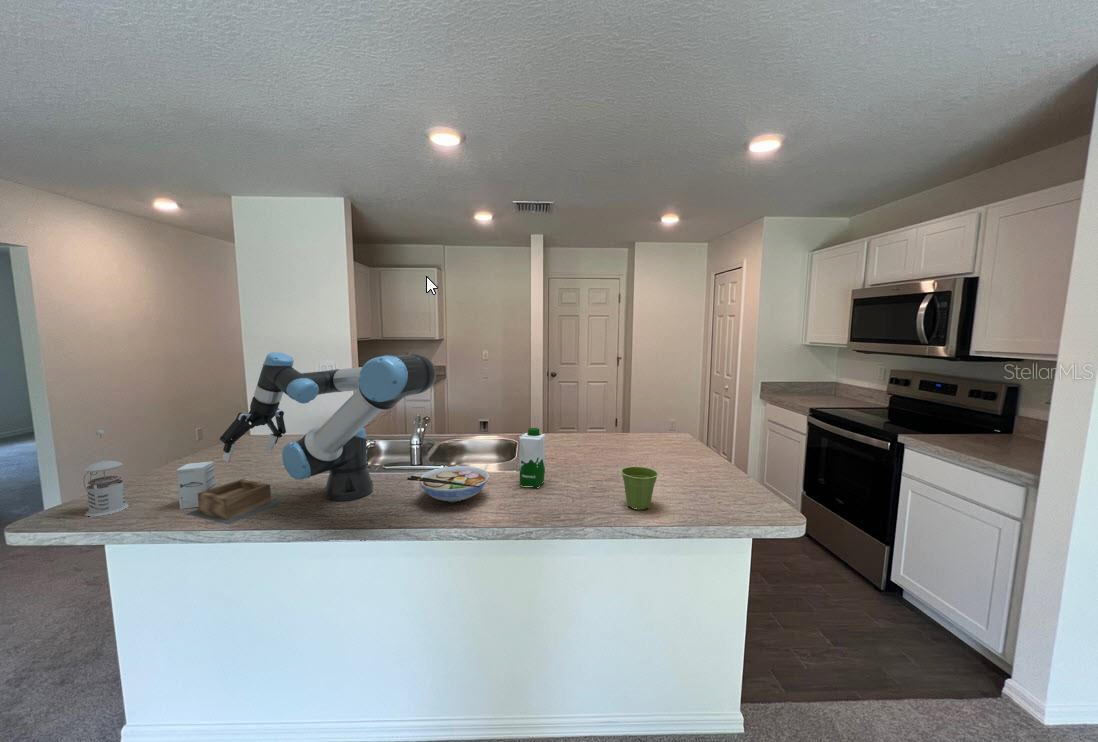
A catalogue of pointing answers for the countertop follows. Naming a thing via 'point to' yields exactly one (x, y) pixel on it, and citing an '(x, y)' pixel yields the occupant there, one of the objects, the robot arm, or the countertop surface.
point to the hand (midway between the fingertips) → (248, 456)
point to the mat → (226, 521)
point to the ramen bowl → (453, 482)
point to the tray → (234, 499)
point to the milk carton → (532, 458)
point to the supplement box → (194, 482)
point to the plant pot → (639, 485)
